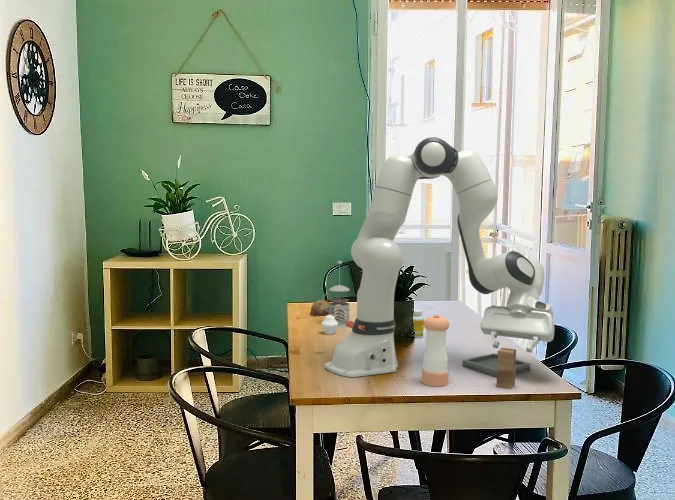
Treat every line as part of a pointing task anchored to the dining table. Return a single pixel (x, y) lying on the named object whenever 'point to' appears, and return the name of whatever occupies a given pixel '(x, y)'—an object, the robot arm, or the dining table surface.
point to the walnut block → (506, 368)
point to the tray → (491, 364)
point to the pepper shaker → (435, 352)
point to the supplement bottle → (418, 323)
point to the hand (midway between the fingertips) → (511, 349)
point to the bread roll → (320, 308)
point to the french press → (339, 301)
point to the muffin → (329, 324)
